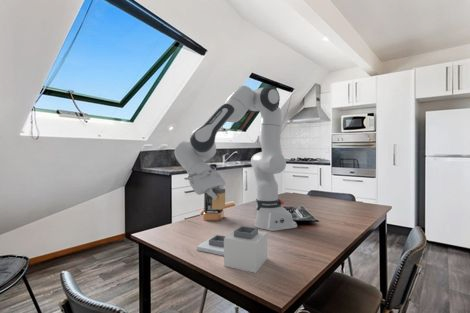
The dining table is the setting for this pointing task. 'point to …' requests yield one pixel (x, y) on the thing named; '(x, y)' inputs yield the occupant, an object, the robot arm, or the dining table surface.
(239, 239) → the block
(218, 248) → the low plate
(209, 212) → the whiskey bottle
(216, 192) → the tan piece
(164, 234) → the dining table surface
